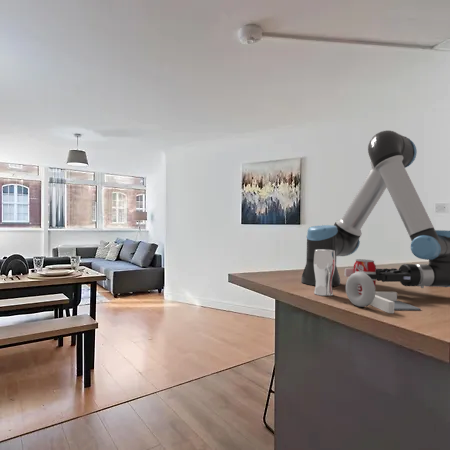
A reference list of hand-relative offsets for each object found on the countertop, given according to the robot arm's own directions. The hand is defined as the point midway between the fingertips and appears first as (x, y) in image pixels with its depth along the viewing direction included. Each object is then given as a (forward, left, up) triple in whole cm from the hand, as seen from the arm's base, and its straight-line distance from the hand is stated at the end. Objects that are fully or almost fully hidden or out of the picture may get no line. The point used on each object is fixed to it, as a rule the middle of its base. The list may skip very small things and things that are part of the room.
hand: (350, 274), depth 114 cm
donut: (+9, -13, -7) cm, 17 cm away
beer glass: (-7, -5, -7) cm, 11 cm away
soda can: (+3, +4, -7) cm, 9 cm away
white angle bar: (+15, -5, -7) cm, 18 cm away
